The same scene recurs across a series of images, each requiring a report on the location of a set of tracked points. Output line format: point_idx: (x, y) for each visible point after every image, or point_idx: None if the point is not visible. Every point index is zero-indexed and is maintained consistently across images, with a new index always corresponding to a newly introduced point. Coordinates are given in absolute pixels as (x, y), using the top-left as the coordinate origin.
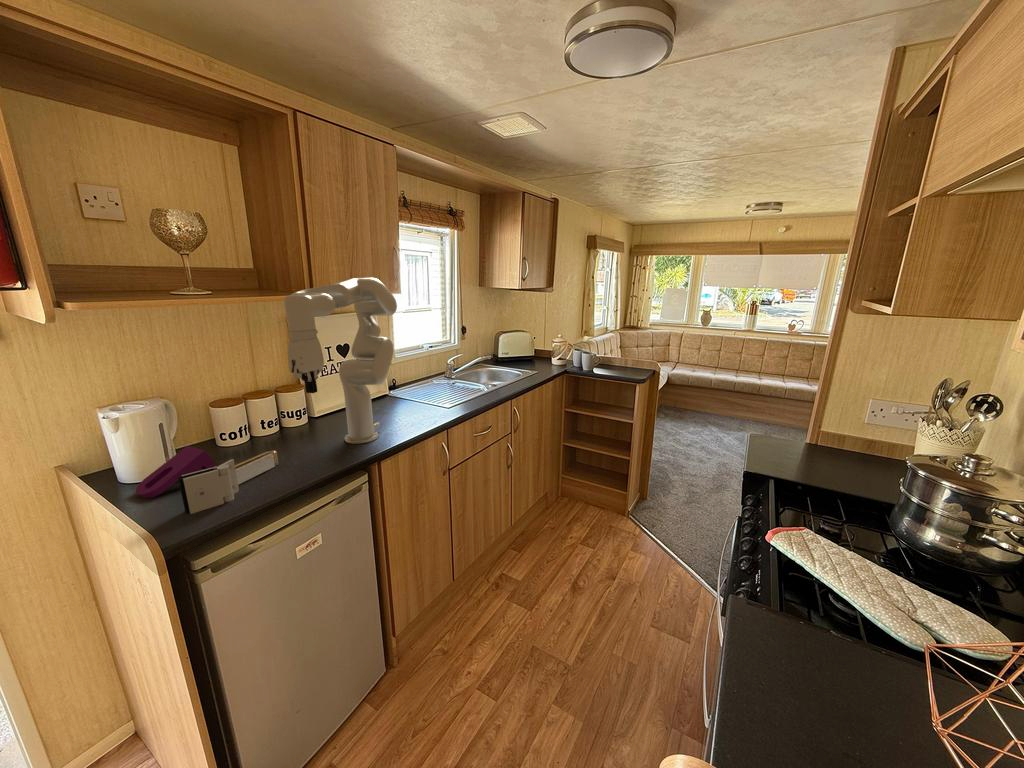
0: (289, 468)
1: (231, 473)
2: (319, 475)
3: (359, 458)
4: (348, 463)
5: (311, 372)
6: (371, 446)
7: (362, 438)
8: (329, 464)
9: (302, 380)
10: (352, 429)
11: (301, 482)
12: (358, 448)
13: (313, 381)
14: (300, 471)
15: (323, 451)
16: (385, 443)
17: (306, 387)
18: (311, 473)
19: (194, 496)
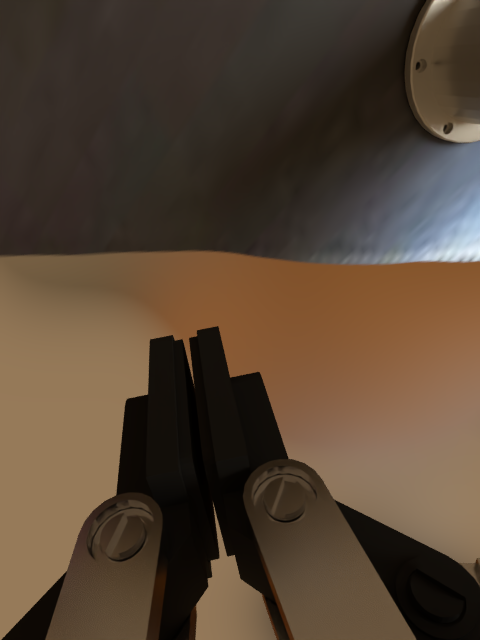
0: (55, 47)
1: None
2: (104, 244)
3: (285, 244)
4: (233, 247)
5: (367, 615)
6: (398, 186)
7: (444, 108)
8: (189, 188)
9: (88, 519)
10: (466, 63)
11: (25, 239)
12: (365, 152)
13: (226, 549)
14: (74, 137)
15: (280, 10)
16: (439, 212)
17: (130, 441)
18: (94, 200)
19: None
